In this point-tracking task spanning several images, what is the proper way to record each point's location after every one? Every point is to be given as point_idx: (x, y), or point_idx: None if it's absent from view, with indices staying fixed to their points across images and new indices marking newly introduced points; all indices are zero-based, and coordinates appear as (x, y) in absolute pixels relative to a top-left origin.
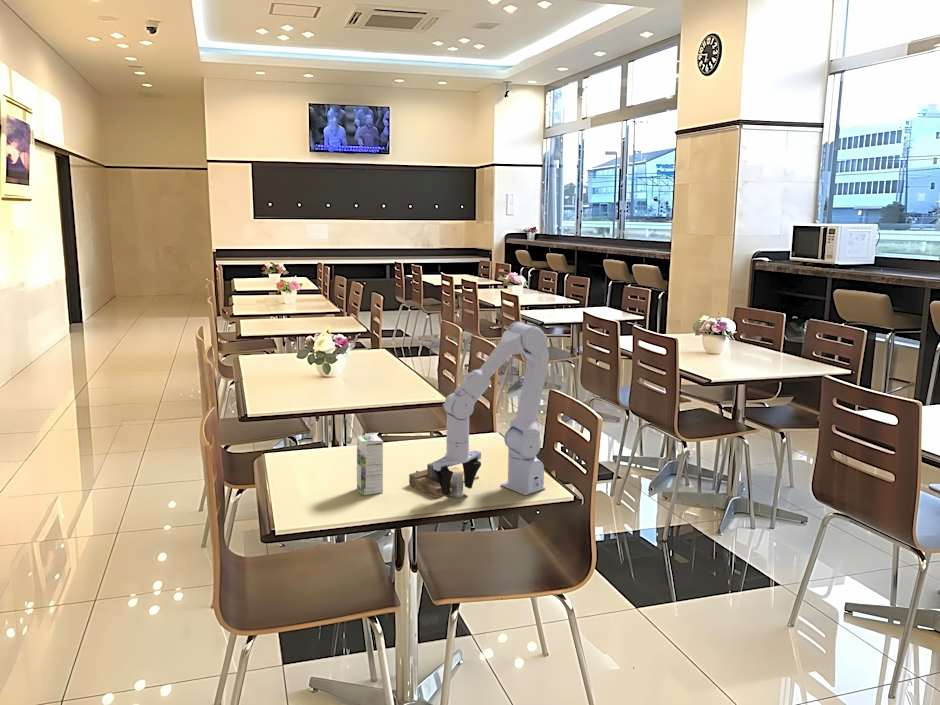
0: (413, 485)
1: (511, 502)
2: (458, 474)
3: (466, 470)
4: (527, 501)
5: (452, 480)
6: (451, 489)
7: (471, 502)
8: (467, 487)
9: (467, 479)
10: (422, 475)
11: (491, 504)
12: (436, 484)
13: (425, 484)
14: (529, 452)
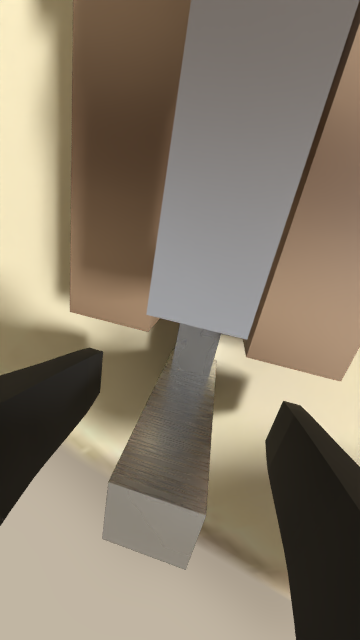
0: None
1: (283, 568)
2: (165, 534)
3: (353, 584)
4: None
5: (136, 430)
6: (193, 343)
7: None
8: (273, 424)
9: (294, 478)
10: None
11: (214, 518)
12: (128, 242)
13: (78, 138)
14: None
